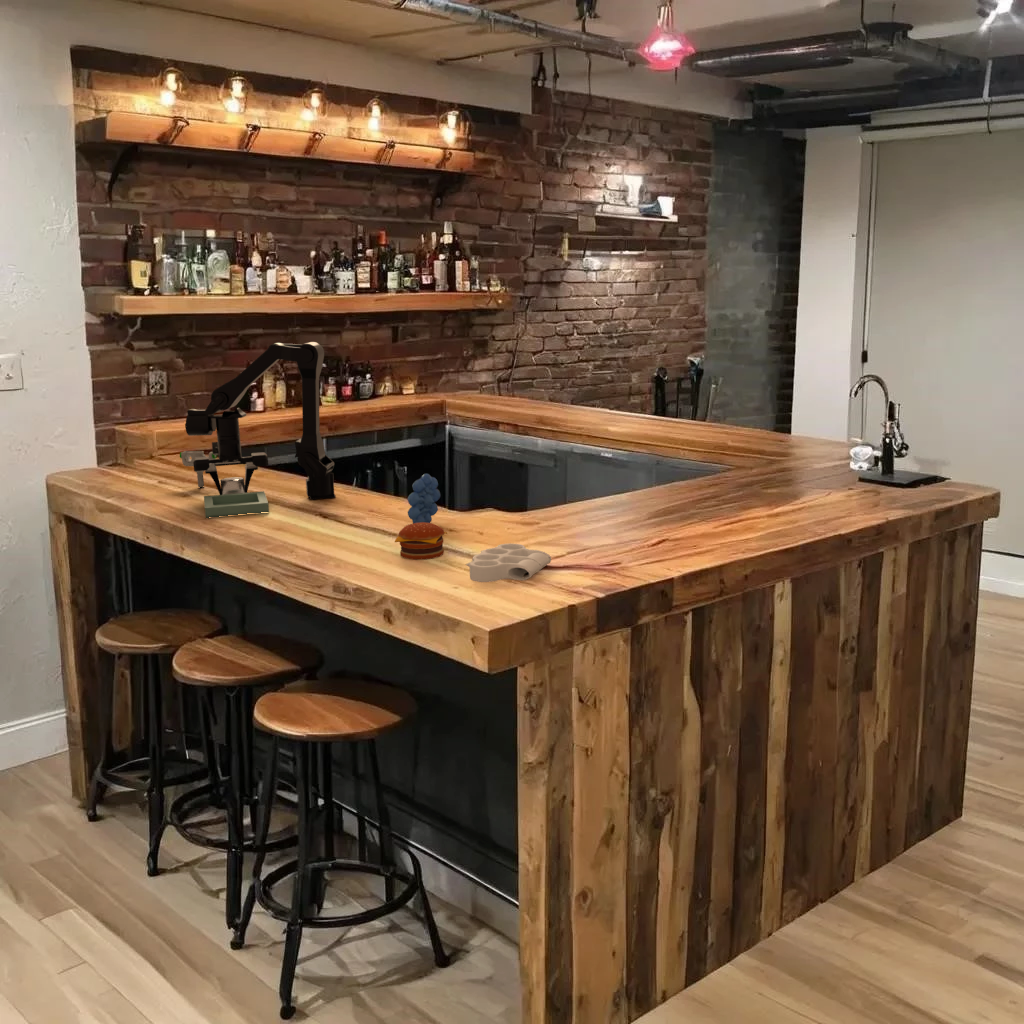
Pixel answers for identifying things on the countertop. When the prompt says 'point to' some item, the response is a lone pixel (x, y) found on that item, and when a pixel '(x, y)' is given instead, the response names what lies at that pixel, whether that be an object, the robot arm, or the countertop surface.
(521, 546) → the multi-hole tube bracket
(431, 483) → the grapes
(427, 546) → the hamburger
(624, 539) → the countertop surface
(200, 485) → the mechanical component
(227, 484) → the silver rounded cylinder
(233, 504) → the socket frame
